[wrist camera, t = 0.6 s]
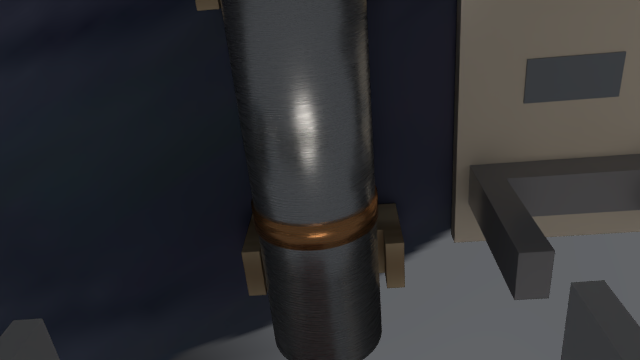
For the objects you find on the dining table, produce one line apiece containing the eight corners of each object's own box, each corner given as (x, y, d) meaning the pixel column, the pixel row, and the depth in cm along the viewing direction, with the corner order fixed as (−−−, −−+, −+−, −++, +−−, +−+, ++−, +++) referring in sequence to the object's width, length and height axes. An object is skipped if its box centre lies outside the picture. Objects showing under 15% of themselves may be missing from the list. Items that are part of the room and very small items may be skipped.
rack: (396, 243, 34) (404, 287, 30) (259, 252, 35) (249, 295, 31) (387, -83, 26) (397, -84, 22) (207, -65, 26) (183, -63, 22)
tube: (379, 292, 32) (388, 368, 27) (278, 297, 33) (267, 374, 27) (359, -119, 23) (367, -133, 17) (217, -105, 23) (180, -113, 17)
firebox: (644, 222, 33) (761, 334, 24) (451, 234, 34) (493, 347, 25) (735, -205, 23) (987, -285, 14) (461, -176, 24) (537, -234, 15)
